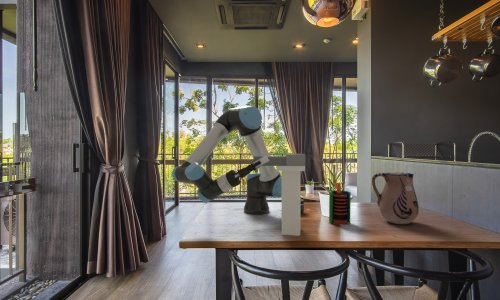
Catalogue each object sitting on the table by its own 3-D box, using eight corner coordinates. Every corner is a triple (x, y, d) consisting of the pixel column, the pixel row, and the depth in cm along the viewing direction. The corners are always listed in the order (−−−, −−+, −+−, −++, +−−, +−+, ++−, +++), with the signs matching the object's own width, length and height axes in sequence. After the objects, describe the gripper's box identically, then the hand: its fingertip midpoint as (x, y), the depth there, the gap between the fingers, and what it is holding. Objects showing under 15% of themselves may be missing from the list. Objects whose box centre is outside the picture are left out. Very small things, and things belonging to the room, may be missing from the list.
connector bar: (254, 165, 129) (254, 154, 129) (303, 165, 127) (303, 154, 127) (253, 165, 123) (253, 154, 123) (305, 166, 121) (305, 154, 121)
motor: (334, 225, 139) (334, 184, 139) (325, 221, 148) (325, 182, 147) (353, 224, 142) (353, 183, 142) (342, 219, 150) (342, 181, 150)
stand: (279, 225, 139) (279, 163, 139) (304, 226, 137) (304, 163, 137) (276, 236, 122) (276, 165, 122) (305, 237, 120) (305, 165, 120)
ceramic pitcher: (424, 228, 135) (424, 174, 135) (376, 225, 139) (376, 174, 139) (411, 219, 152) (411, 171, 152) (369, 217, 156) (369, 171, 156)
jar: (286, 210, 172) (286, 198, 172) (303, 211, 172) (303, 198, 172) (287, 214, 162) (287, 201, 162) (305, 214, 162) (305, 201, 162)
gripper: (239, 184, 142) (276, 163, 139) (226, 192, 117) (270, 166, 114) (231, 171, 143) (268, 149, 139) (217, 176, 118) (261, 150, 115)
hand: (269, 157), depth 127 cm, fingers open, 13 cm apart
